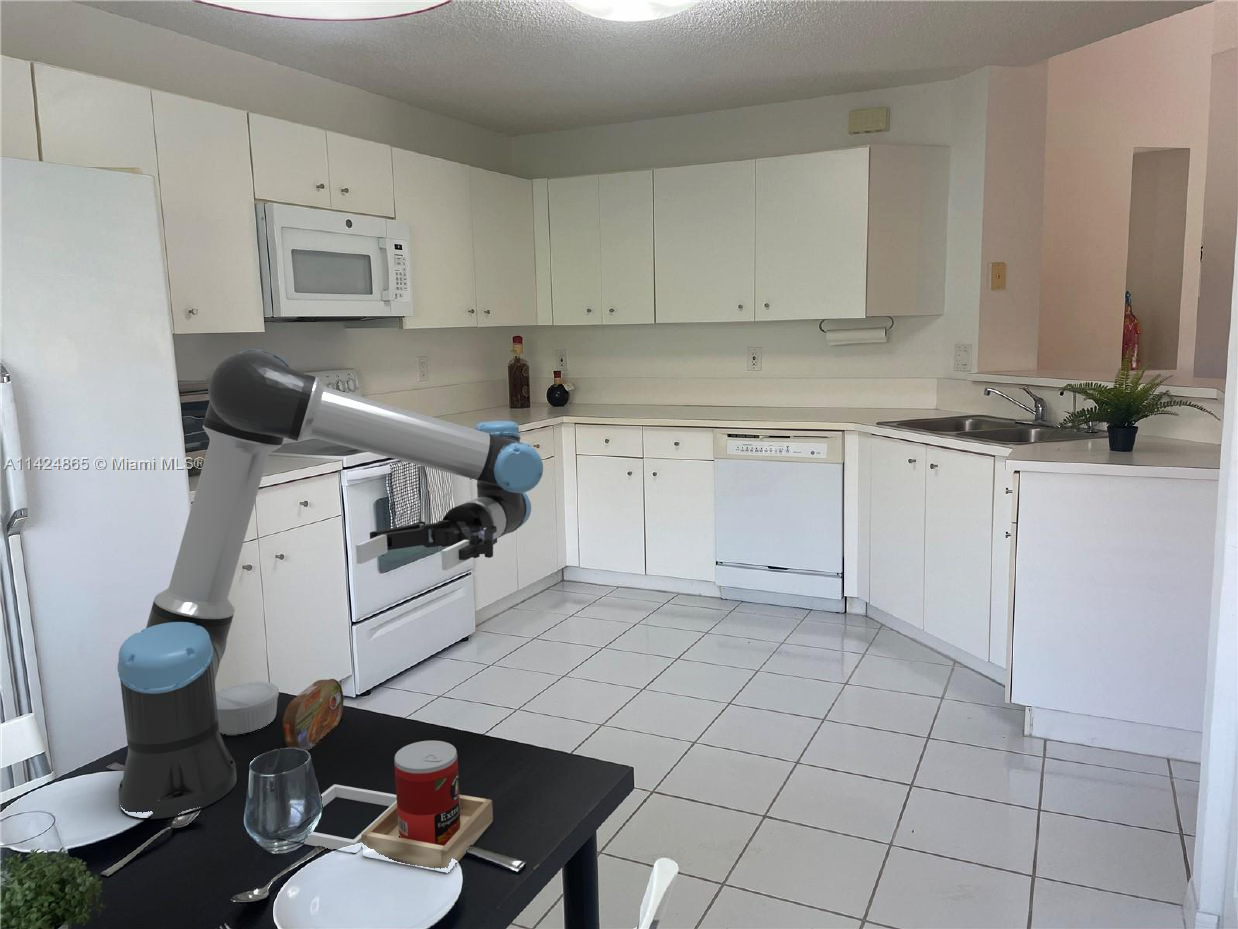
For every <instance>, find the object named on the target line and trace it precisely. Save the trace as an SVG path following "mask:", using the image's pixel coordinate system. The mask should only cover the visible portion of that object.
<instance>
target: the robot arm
mask: <svg viewBox="0 0 1238 929" xmlns="http://www.w3.org/2000/svg"><path fill="white" fill-rule="evenodd" d="M209 378H210V379H209V381H208V390H207V391H208V398H209V403H208V405H207V409H206V414H205V416H204V419H203V424H202V429H203V430H204V432H205V433H206V435H207V436H208V438H209V444H208V447H207V449H206V454H205V458H204V461H203V465H202V468H201V472H200V475H199V479H198V482H197V485H196V489H195V492H194V496H193V499H192V503H191V506H190V509H189V513H188V518H187V521H186V525H185V528H184V532H183V535H182V538H181V539H182V540H181V543H180V545H179V546H180V547H179V550H178V554H177V557H176V559H175V564H174V567H173V570H172V573H171V579H170V583H169V585H168V587H167V588H166V589H164V590H163V591H161V592H159V593H157V594H156V595H155V596H154V599H153V602H152V605H151V608H150V612H149V616H148V618H147V623H146V627H145V628H143V629H142V630H141V631H140V632H135V633H133V634H131V635H130V636H128V638H127V639H125V640H124V641H123V643H122V644H121V646H120V648H119V650H118V662H117V672H118V678H119V681H120V690H121V698H122V706H123V707H122V708H123V716H124V725H125V733H126V734H125V735H126V742H127V753H126V759H125V764H124V768H123V775H122V779H121V781H119V782H120V783H119V785H118V792H117V793H118V794H117V796H118V803H120V805H121V807H122V808H123V809H125V811H128V812H136V813H137V812H142V813H143V812H148V811H149V812H150V811H152V812H153V815H152V816H151V818H150V819H149V820H157V819H158V820H159V819H166V818H168V819H169V818H174V817H178V816H177V815H178V814H179V813H181V812H182V811H186V810H189V809H193V808H197V807H198V808H199V807H201V809H203V808H206V807H208V806H210V805H213V804H214V803H216V802H217V801H219V800H222V798H224V797H225V796H227V795H228V794H229V793H230V792H231V791H232V790H233V788H234V787H235V786H236V783H237V780H238V779H237V777H238V776H237V768H236V762H235V760H234V758H233V757H232V755H231V753H230V751H229V749H228V746H227V743H226V742H225V740H224V738H223V736H222V734H221V733H220V731H219V725H218V713H217V702H216V692H217V691H216V679H217V675H218V672H219V668H220V666H221V665H220V664H221V661H222V659H223V657H224V654H225V652H226V648H227V643H228V635H229V633H230V629H231V626H232V622H233V618H234V614H235V611H236V610H235V608H234V606H233V604H232V603H231V602H230V599H229V595H230V590H231V588H232V584H233V580H234V577H235V574H236V570H237V567H238V563H239V560H240V556H241V554H242V553H241V552H242V549H243V545H244V543H245V538H246V535H247V531H248V529H249V524H250V521H251V517H252V514H253V510H254V507H255V503H256V500H257V496H258V493H259V490H260V485H261V482H262V480H263V479H262V478H263V475H264V471H265V468H266V465H267V461H268V458H269V455H270V454H271V453H272V452H274V451H276V450H277V449H279V448H281V447H282V446H283V442H284V440H285V439H288V440H292V441H296V442H301V441H304V440H306V439H307V438H308V439H309V438H313V439H317V440H321V441H324V442H328V443H332V444H335V445H339V446H344V447H348V448H352V449H354V450H359V451H364V452H367V453H370V454H374V455H379V456H382V457H387V458H390V459H395V460H398V461H400V462H401V461H402V462H405V463H408V464H409V463H410V464H414V465H417V466H421V467H425V468H428V469H433V470H436V471H441V472H445V473H449V474H452V475H454V476H455V475H457V476H460V477H462V478H467V479H471V480H475V481H476V491H477V492H476V494H477V497H476V498H474V499H471V500H469V501H468V500H467V501H466V502H465V503H462V504H460V505H457V506H454V507H451V509H449V510H448V511H447V512H446V513H445V515H444V516H443V519H442V520H438V521H436V522H433V523H426V522H425V521H423V520H420V521H418V522H415V523H412V524H406V525H401V526H397V527H396V526H395V527H392V528H391V527H390V528H386V529H379V530H375V531H374V530H373V531H371V532H369V539H368V540H365V541H362V542H360V543H357V544H355V551H356V552H355V553H356V564H357V565H358V564H361V565H362V564H364V563H367V562H369V561H371V560H374V559H377V558H378V557H379V558H380V557H384V556H385V554H387V553H388V551H392V550H399V549H407V548H412V547H419V546H423V547H424V548H426V549H429V548H435V547H441V548H442V547H443V548H444V549H442V550H441V552H440V553H441V554H440V555H441V570H442V571H449V570H451V569H453V568H454V567H456V566H458V565H461V564H462V563H464V562H466V561H467V560H470V559H471V558H474V559H477V558H480V557H481V556H480V555H484V557H485V558H487V559H490V558H493V557H494V545H495V544H497V543H498V539H500V538H501V537H503V536H505V535H507V534H510V533H513V532H515V531H517V530H518V529H519V528H521V527H522V526H523V525H524V524H526V522H527V521H528V520H529V518H530V516H531V512H532V503H531V500H530V498H529V497H528V494H527V492H529V491H531V490H533V489H534V488H535V487H536V486H538V484H539V483H540V481H541V479H542V477H543V473H544V464H543V460H542V457H541V455H540V454H539V453H538V452H537V451H536V449H535V448H534V447H532V446H531V445H530V444H527V443H523V442H521V436H520V430H519V428H520V427H519V425H518V423H517V422H515V421H509V420H494V421H493V420H491V421H481V422H479V423H477V424H476V425H475V427H474V428H471V427H467V426H464V425H461V424H460V425H459V424H457V423H453V422H450V421H447V420H443V419H440V418H436V417H433V416H429V415H425V414H422V413H418V412H414V411H411V410H407V409H404V408H402V407H397V406H393V405H390V404H387V403H383V402H380V401H377V400H373V399H369V398H366V397H362V396H359V395H355V394H353V393H348V392H345V391H341V390H337V389H334V388H331V387H329V386H324V385H323V383H322V382H321V380H320V378H319V377H317V376H314V375H312V374H307V373H304V372H301V371H298V370H296V369H294V368H292V367H291V366H290V365H289V364H288V363H287V362H286V361H285V360H284V359H282V358H281V357H279V356H278V355H277V354H273V353H270V352H269V351H266V350H260V349H246V350H243V351H240V352H237V353H234V354H231V355H229V356H228V357H226V358H224V359H223V360H222V361H220V363H219V364H217V366H216V367H215V368H214V369H213V372H212V374H211V375H210V377H209ZM430 537H431V540H432V541H431V542H430ZM120 805H119V806H120Z"/></svg>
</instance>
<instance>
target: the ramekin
mask: <svg viewBox="0 0 1238 929" xmlns="http://www.w3.org/2000/svg"><path fill="white" fill-rule="evenodd" d="M215 692H216V702H217V713H218V725H219V731H220V734H221V733H222V734H221V735H224V734H226V735H225V736H238V735H237V734H243V733H247V732H252V731H255V730H257V729H261V728H263V727H265V726H267V725H268V724H270V723H271V722H273V721H274V720H275V718H276V715H277V708H278V697H279V695H280V692H279V688H278V686H277V685H276V684H273V683H271V682H267V681H266V682H265V681H252V682H251V681H250V682H241V683H238V684H234V685H229V686H227V687H224V688H222V689H219V690H217V691H215ZM271 724H272V723H271ZM271 724H270V725H271ZM268 726H269V725H268ZM268 726H267V727H268ZM265 728H266V727H265ZM263 729H264V728H263ZM261 730H262V729H261ZM243 735H244V734H243Z"/></svg>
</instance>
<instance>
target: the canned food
mask: <svg viewBox="0 0 1238 929" xmlns="http://www.w3.org/2000/svg"><path fill="white" fill-rule="evenodd" d="M458 764H459V762H458V753H457V749H456V747H455V746H454V745H453V744H451V743H449V742H446V741H443V740H423V741H422V740H421V741H416V742H413V743H410V744H407V745H405V746H403V747H401V748H400V749H398V751H397V752H396V753H395V754H394V777H395V778H394V780H395V782H394V784H395V793H396V794H395V795H396V798H397V812H398V827H399V834H400V837H401V838H405V839H410V840H415V841H420V842H426V843H431V844H436V845H441V846H444V845H446V843H447V842H448V841H449V840H450V839H451V838H452V837H453V836H454V835H455V834H456V832H457V831H458V830H459V829H460V825H461V822H460V800H459V795H460V783H459V782H460V781H459V765H458Z"/></svg>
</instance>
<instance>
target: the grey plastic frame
mask: <svg viewBox="0 0 1238 929" xmlns="http://www.w3.org/2000/svg"><path fill="white" fill-rule="evenodd" d="M320 795H321V796H322V804H323V808H324V807H325V806H326V805H328V804H329V803H331V801H333V800H334V799H336V798H340V799H347V800H352V801H357V802H361V803H362V802H363V803H368V804H374V805H380V806H385V807H388V808H387V809H386V810H384V811H383V812H382V813H381V814H379V816H378V817H377V818H376V819H375V820H374V821H372V822H371V823H370V824H369V825H367V827H366V828H365V829H363V830H362V831H361V833H359V834H358V835H357V836H356V837H355V838H354V839H351V838H345V837H341V836H337V835H332V834H326V833H320V832H315V831H311V832H312V833H311V834H310V835H309V836H308V838H306V839H305V842H304V844H303V845H308V846H313V847H317V846H319V845H320V846H323V847H325V848H324V849H327V848H328V849H329V850H333V849H339V848H342V847H346V846H348V845H355V844H356V843H360V842H362V837H361V834H362V833H364V832H365V831H366V830H367V829H368V828H369V827H370V826H371V825H372V824H373V823H374V822H375V821H377V820H378V819H379V818H380V817H381V816H382V815H383V814H384V813H385V812H386V811H387V810H389V809H390V808H391V807H392V806H393V805H394V804H395V803H396V802H397V798H396V794H393V793H387V792H383V791H377V790H376V791H375V790H369V789H364V788H358V787H354V786H353V787H352V786H348V785H347V786H346V785H340V784H333V785H331V786H330V787H329V788H328V789H326V790H325V791H324V792H322V794H320ZM333 851H334V850H333Z"/></svg>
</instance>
